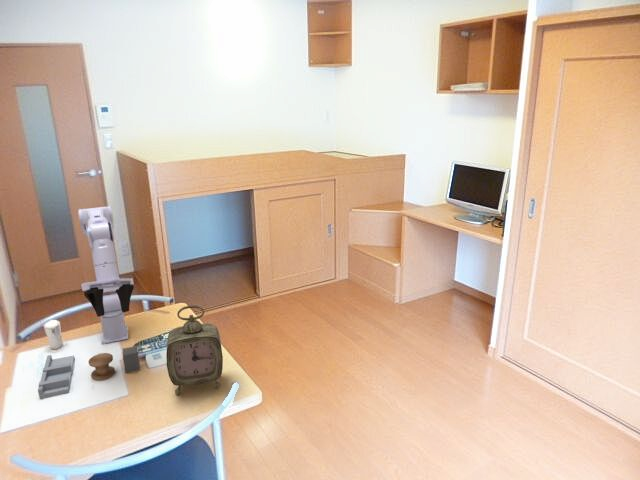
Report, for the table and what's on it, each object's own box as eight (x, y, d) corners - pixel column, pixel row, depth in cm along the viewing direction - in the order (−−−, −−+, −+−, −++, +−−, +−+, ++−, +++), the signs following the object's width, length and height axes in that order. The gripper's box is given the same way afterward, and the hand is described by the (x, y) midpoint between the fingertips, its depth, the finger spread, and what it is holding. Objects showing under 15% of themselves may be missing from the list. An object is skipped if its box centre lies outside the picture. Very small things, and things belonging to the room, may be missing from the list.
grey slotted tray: (49, 363, 140) (47, 354, 139) (74, 358, 143) (73, 349, 142) (39, 398, 124) (37, 388, 123) (68, 392, 127) (66, 382, 126)
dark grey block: (125, 365, 139) (122, 348, 137) (139, 363, 140) (136, 345, 139) (125, 373, 135) (122, 355, 134) (139, 370, 137) (137, 352, 135)
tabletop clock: (170, 399, 124) (160, 316, 116) (171, 379, 132) (162, 301, 124) (225, 390, 128) (219, 309, 120) (222, 372, 136) (216, 295, 128)
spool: (92, 370, 137) (89, 355, 135) (115, 365, 139) (112, 351, 137) (90, 382, 131) (87, 367, 129) (115, 377, 133) (112, 362, 132)
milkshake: (46, 345, 150) (40, 318, 147) (64, 341, 152) (59, 314, 149) (45, 352, 146) (39, 324, 143) (64, 348, 148) (58, 320, 145)
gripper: (89, 263, 119) (98, 315, 117) (137, 260, 131) (145, 307, 130) (73, 269, 122) (82, 319, 121) (121, 266, 135) (129, 311, 133)
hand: (113, 313), depth 125 cm, fingers open, 7 cm apart
